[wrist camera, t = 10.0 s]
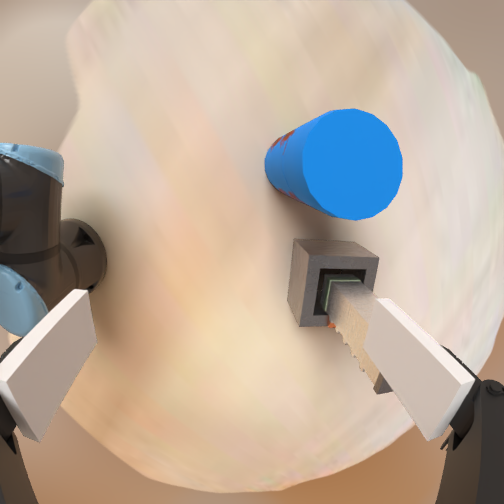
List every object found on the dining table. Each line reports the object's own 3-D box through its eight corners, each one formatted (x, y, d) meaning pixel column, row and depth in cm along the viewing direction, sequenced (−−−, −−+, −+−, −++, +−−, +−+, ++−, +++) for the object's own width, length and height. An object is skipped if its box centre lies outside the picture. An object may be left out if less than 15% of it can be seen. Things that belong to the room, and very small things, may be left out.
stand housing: (287, 300, 55) (300, 329, 45) (293, 238, 52) (310, 257, 41) (344, 299, 56) (367, 326, 46) (354, 241, 53) (382, 259, 42)
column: (318, 306, 47) (375, 398, 25) (323, 272, 45) (392, 352, 24) (347, 306, 47) (414, 389, 26) (353, 273, 46) (433, 346, 24)
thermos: (289, 122, 46) (347, 84, 22) (335, 161, 49) (421, 162, 25) (250, 169, 48) (274, 170, 24) (298, 208, 50) (360, 245, 26)
